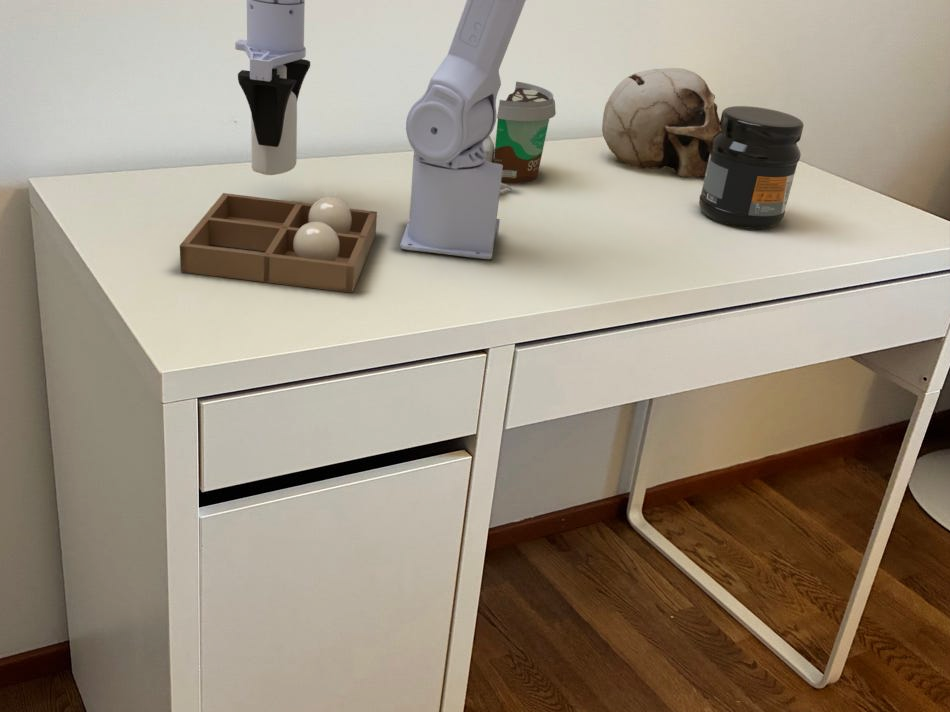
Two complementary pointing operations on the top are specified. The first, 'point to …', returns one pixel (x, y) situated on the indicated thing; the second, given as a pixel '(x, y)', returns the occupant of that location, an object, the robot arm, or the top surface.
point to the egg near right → (316, 242)
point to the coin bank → (662, 121)
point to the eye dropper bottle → (285, 154)
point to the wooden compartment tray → (272, 244)
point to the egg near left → (331, 214)
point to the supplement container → (751, 167)
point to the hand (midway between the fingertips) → (275, 137)
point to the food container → (522, 132)
